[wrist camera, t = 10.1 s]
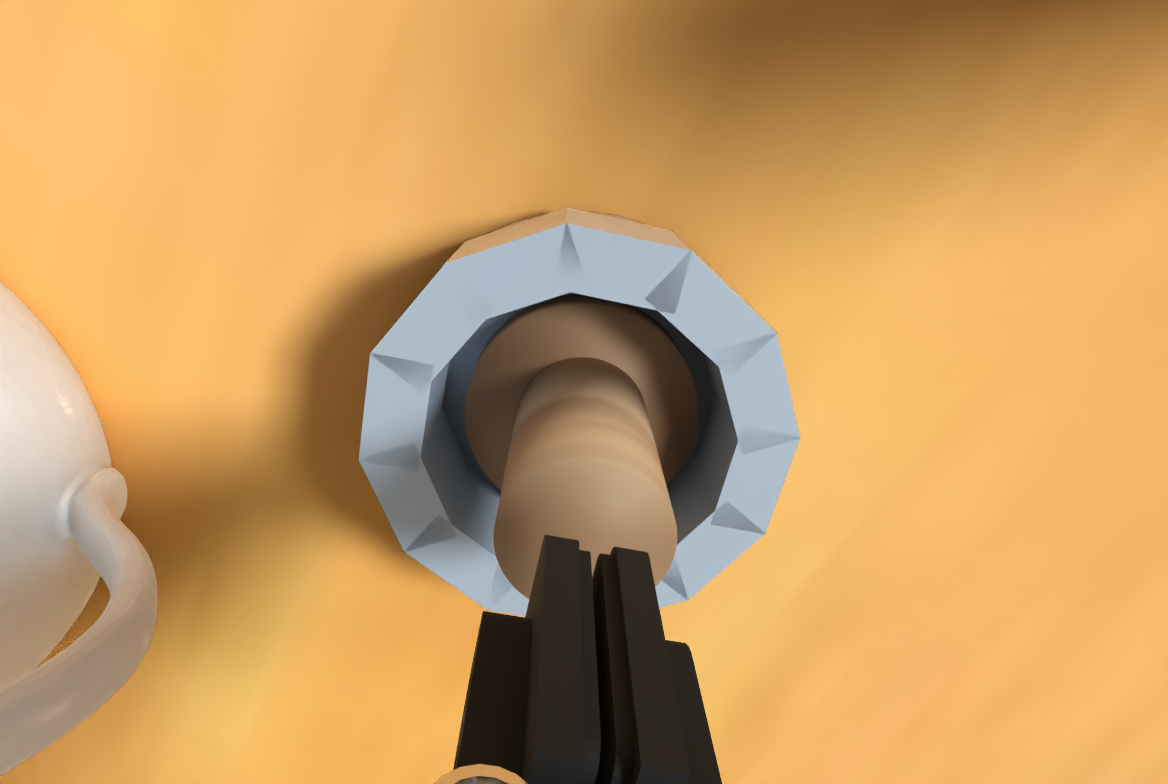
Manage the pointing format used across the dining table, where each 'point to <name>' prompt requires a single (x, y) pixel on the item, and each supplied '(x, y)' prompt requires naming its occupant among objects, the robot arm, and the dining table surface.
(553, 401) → the lid
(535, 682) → the robot arm
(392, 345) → the blue faceted bowl
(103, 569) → the teapot
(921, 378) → the dining table surface
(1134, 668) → the dining table surface
